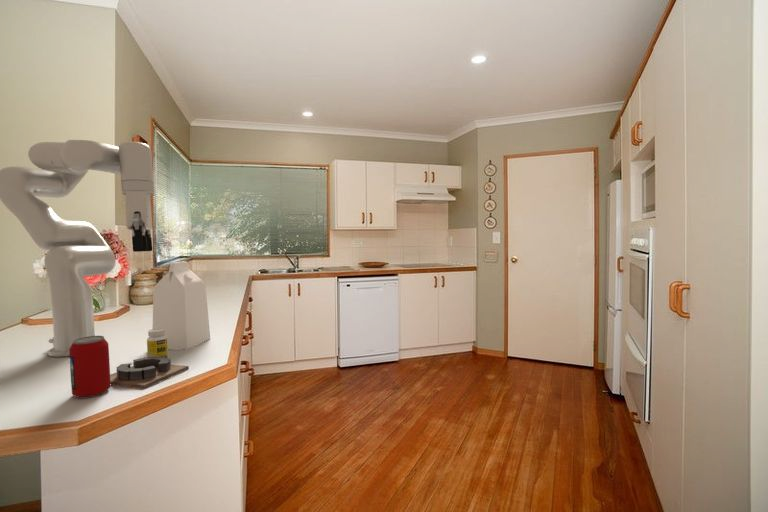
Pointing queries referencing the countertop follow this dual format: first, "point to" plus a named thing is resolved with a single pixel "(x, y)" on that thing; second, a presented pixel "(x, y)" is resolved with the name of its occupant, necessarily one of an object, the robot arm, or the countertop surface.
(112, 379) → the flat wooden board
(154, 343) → the supplement bottle
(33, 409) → the countertop surface
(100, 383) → the beverage can
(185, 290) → the milk
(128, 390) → the countertop surface
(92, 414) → the countertop surface
